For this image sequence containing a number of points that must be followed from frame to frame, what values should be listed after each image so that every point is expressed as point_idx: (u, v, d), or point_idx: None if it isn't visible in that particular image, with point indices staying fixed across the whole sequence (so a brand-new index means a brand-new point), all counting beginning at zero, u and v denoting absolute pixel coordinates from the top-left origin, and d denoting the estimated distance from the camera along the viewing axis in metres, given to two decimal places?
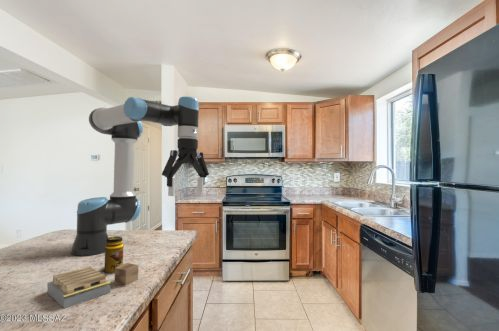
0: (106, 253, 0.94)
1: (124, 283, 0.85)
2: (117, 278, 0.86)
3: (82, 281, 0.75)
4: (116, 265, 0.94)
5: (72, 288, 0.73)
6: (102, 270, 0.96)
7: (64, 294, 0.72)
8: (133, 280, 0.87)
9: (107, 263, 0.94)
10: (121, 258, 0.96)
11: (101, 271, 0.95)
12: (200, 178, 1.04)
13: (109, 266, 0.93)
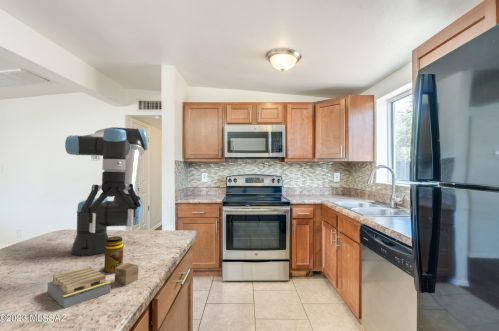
0: (106, 253, 0.94)
1: (124, 283, 0.85)
2: (117, 278, 0.86)
3: (82, 281, 0.75)
4: (116, 265, 0.94)
5: (72, 288, 0.73)
6: (102, 270, 0.96)
7: (64, 294, 0.72)
8: (133, 280, 0.87)
9: (107, 263, 0.94)
10: (121, 258, 0.96)
11: (101, 271, 0.95)
12: (130, 210, 1.01)
13: (109, 266, 0.93)
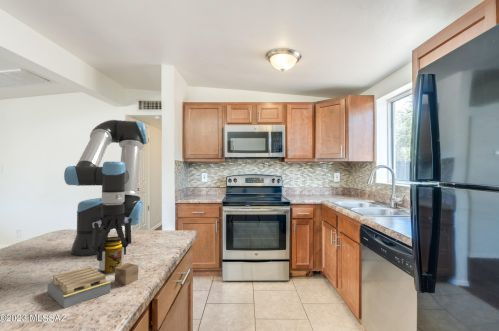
0: None
1: (124, 283, 0.85)
2: (117, 278, 0.86)
3: (82, 281, 0.75)
4: (114, 265, 0.94)
5: (72, 288, 0.73)
6: (101, 270, 0.96)
7: (64, 294, 0.72)
8: (133, 280, 0.87)
9: (106, 264, 0.93)
10: (120, 258, 0.96)
11: (100, 271, 0.95)
12: None
13: (107, 266, 0.93)
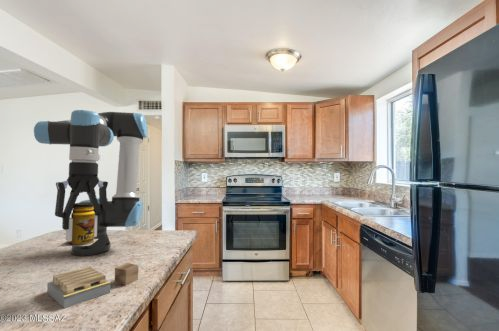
0: None
1: (124, 283, 0.85)
2: (117, 278, 0.86)
3: (82, 281, 0.75)
4: (84, 235, 0.77)
5: (72, 288, 0.73)
6: (68, 242, 0.79)
7: (64, 294, 0.72)
8: (133, 280, 0.87)
9: (73, 233, 0.77)
10: (91, 228, 0.79)
11: (66, 243, 0.78)
12: None
13: (75, 236, 0.76)
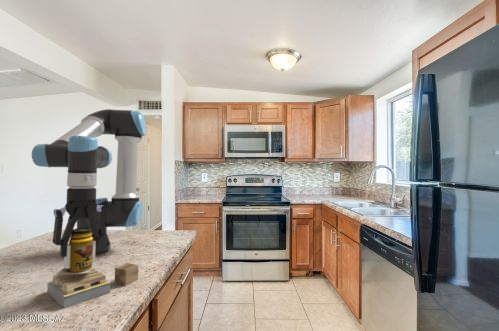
0: None
1: (124, 283, 0.85)
2: (117, 278, 0.86)
3: (82, 281, 0.75)
4: (82, 262, 0.77)
5: (72, 288, 0.73)
6: (66, 269, 0.78)
7: (64, 294, 0.72)
8: (133, 280, 0.87)
9: (71, 260, 0.76)
10: (89, 254, 0.78)
11: (64, 270, 0.78)
12: None
13: (73, 263, 0.76)
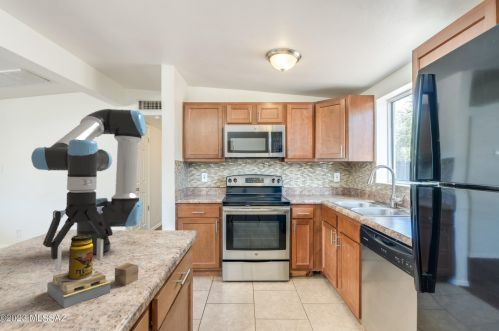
0: (70, 255, 0.76)
1: (124, 283, 0.85)
2: (117, 278, 0.86)
3: (82, 281, 0.75)
4: (83, 269, 0.77)
5: (72, 288, 0.73)
6: (66, 275, 0.79)
7: (64, 294, 0.72)
8: (133, 280, 0.87)
9: (71, 267, 0.76)
10: (89, 261, 0.79)
11: (65, 277, 0.78)
12: (99, 240, 0.83)
13: (73, 270, 0.76)
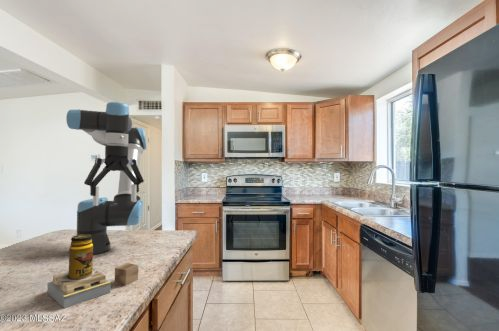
0: (70, 255, 0.76)
1: (124, 283, 0.85)
2: (117, 278, 0.86)
3: (82, 281, 0.75)
4: (83, 269, 0.77)
5: (72, 288, 0.73)
6: (66, 275, 0.79)
7: (64, 294, 0.72)
8: (133, 280, 0.87)
9: (71, 267, 0.76)
10: (89, 261, 0.79)
11: (65, 277, 0.78)
12: (133, 185, 1.02)
13: (73, 270, 0.76)
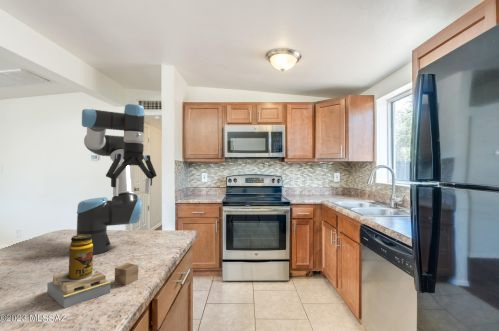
0: (70, 255, 0.76)
1: (124, 283, 0.85)
2: (117, 278, 0.86)
3: (82, 281, 0.75)
4: (83, 269, 0.77)
5: (72, 288, 0.73)
6: (66, 275, 0.79)
7: (64, 294, 0.72)
8: (133, 280, 0.87)
9: (71, 267, 0.76)
10: (89, 261, 0.79)
11: (65, 277, 0.78)
12: (147, 179, 1.13)
13: (73, 270, 0.76)
